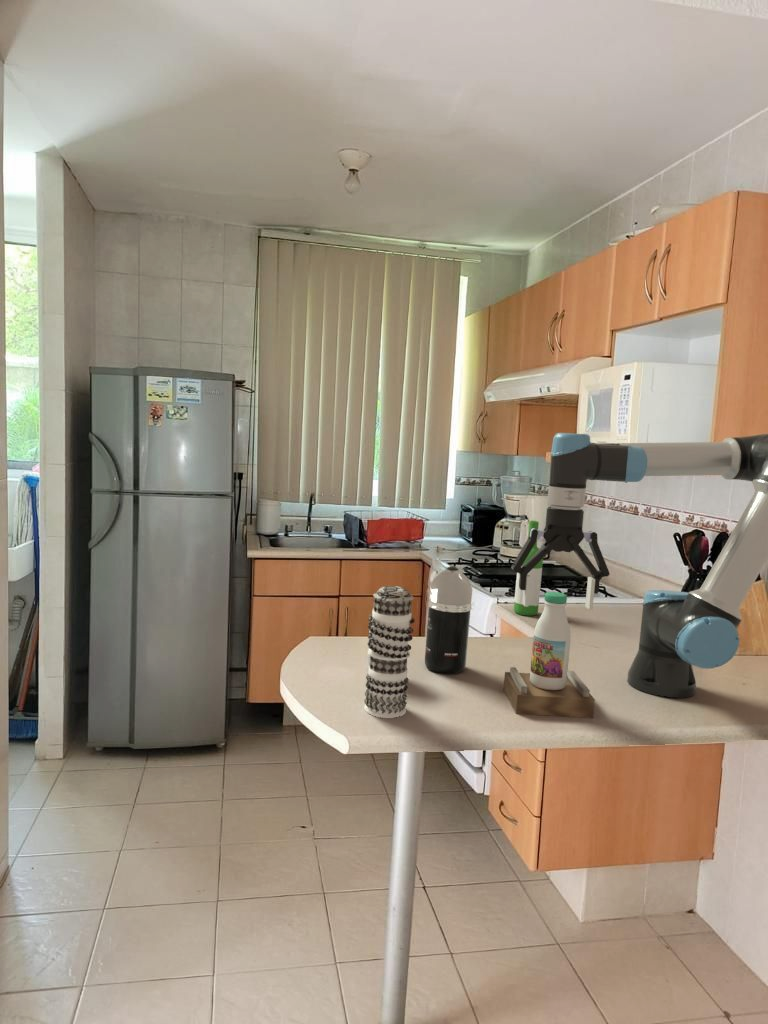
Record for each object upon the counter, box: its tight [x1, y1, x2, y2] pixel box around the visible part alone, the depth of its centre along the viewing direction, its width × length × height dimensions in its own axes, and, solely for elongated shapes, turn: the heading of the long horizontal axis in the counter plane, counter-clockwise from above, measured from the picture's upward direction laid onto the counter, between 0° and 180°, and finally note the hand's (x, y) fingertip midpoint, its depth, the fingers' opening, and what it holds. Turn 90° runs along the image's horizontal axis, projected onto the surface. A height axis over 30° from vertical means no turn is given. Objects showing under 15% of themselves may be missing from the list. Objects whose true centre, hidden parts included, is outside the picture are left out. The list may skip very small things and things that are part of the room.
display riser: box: [503, 666, 596, 719], centre depth 157 cm, size 16×14×6 cm
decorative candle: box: [363, 585, 416, 719], centre depth 146 cm, size 9×9×25 cm
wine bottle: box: [513, 520, 544, 617], centre depth 233 cm, size 8×8×30 cm
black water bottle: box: [424, 565, 473, 675], centre depth 174 cm, size 10×10×25 cm
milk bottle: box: [529, 591, 572, 690], centre depth 156 cm, size 8×8×20 cm
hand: (557, 606), depth 155 cm, fingers open, 13 cm apart
